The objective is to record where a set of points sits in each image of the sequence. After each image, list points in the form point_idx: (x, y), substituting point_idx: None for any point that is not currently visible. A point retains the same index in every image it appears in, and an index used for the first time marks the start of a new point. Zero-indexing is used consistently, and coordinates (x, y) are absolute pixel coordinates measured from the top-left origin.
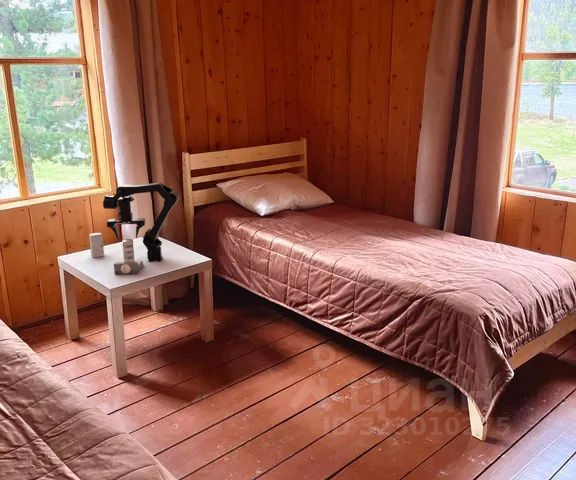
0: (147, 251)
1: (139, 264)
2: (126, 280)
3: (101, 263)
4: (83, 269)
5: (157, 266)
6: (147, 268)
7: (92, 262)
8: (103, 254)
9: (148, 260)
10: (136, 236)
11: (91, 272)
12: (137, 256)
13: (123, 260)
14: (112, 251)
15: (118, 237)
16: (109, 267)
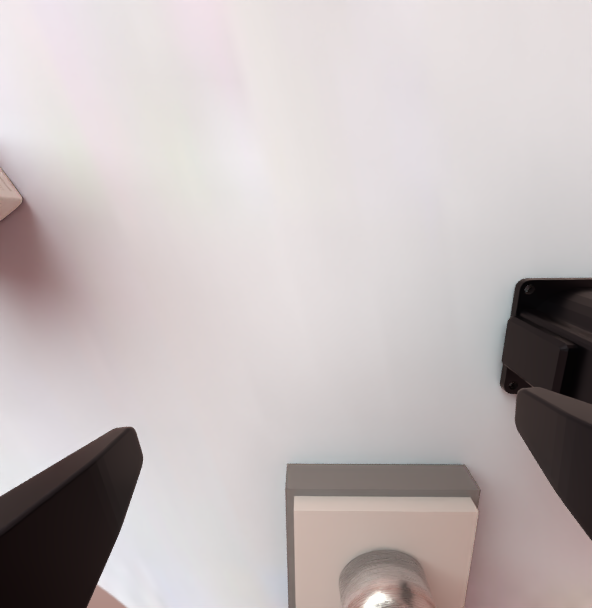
0: (554, 383)
1: (463, 577)
2: None
3: (102, 408)
4: None
5: None
6: (502, 525)
7: (13, 381)
8: (9, 204)
9: (508, 390)
10: (560, 479)
11: (115, 570)
12: (377, 233)
13: (311, 515)
14: (44, 32)
15: (130, 500)
16: (204, 493)
